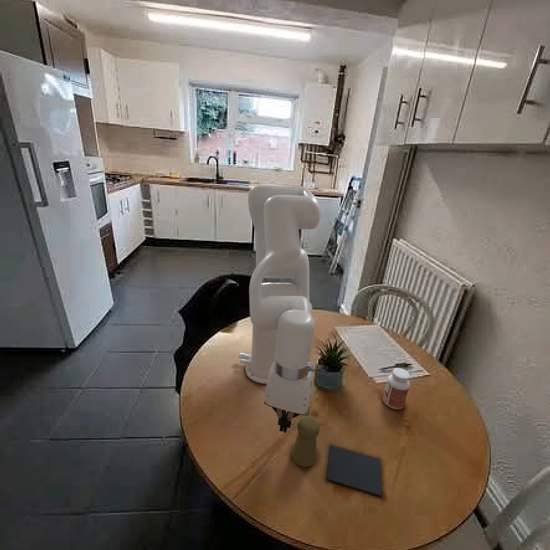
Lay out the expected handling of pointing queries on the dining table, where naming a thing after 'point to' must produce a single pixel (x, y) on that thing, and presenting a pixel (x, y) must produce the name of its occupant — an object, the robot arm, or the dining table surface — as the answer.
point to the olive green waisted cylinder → (306, 441)
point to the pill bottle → (396, 388)
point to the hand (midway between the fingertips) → (284, 427)
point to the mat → (354, 470)
